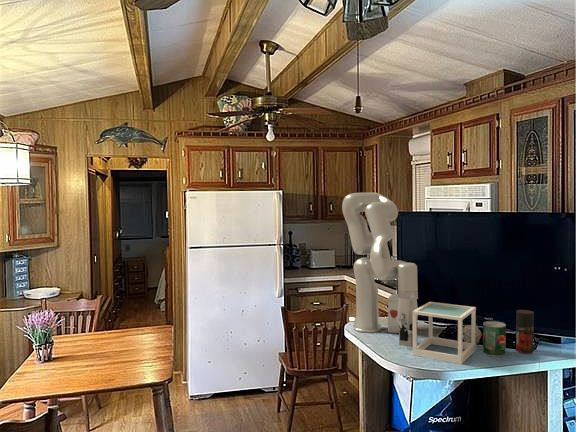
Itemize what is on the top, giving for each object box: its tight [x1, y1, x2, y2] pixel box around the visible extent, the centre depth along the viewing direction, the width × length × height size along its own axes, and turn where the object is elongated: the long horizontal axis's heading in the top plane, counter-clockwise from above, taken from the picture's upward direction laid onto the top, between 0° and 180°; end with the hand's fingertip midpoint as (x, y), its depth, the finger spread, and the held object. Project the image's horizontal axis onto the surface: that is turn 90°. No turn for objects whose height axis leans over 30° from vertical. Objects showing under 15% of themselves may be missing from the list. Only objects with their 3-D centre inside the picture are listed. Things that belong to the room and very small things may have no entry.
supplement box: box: [387, 293, 409, 334], centre depth 221 cm, size 9×9×15 cm
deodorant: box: [515, 309, 535, 355], centre depth 191 cm, size 6×6×15 cm
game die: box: [462, 323, 483, 346], centre depth 201 cm, size 9×8×10 cm
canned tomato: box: [482, 320, 507, 357], centre depth 190 cm, size 8×8×11 cm
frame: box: [412, 301, 477, 365], centre depth 191 cm, size 18×18×16 cm
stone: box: [398, 330, 413, 348], centre depth 202 cm, size 5×5×5 cm
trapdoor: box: [421, 304, 467, 317], centre depth 191 cm, size 14×14×1 cm
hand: (408, 337), depth 202 cm, fingers open, 9 cm apart
